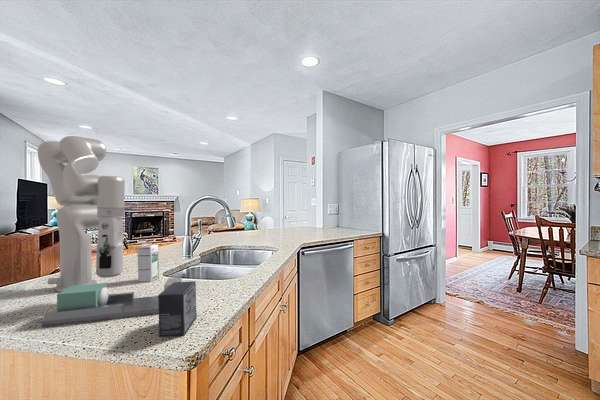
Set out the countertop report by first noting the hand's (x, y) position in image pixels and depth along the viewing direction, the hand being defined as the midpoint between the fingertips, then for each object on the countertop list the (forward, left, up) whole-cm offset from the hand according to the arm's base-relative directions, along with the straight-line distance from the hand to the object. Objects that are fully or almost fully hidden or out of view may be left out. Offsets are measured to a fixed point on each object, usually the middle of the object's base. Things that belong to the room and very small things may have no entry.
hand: (109, 264), depth 94 cm
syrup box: (+7, +21, -12) cm, 25 cm away
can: (0, 0, -4) cm, 4 cm away
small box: (+25, -30, -12) cm, 41 cm away
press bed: (+7, -13, -12) cm, 19 cm away
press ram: (-2, -13, -10) cm, 16 cm away
